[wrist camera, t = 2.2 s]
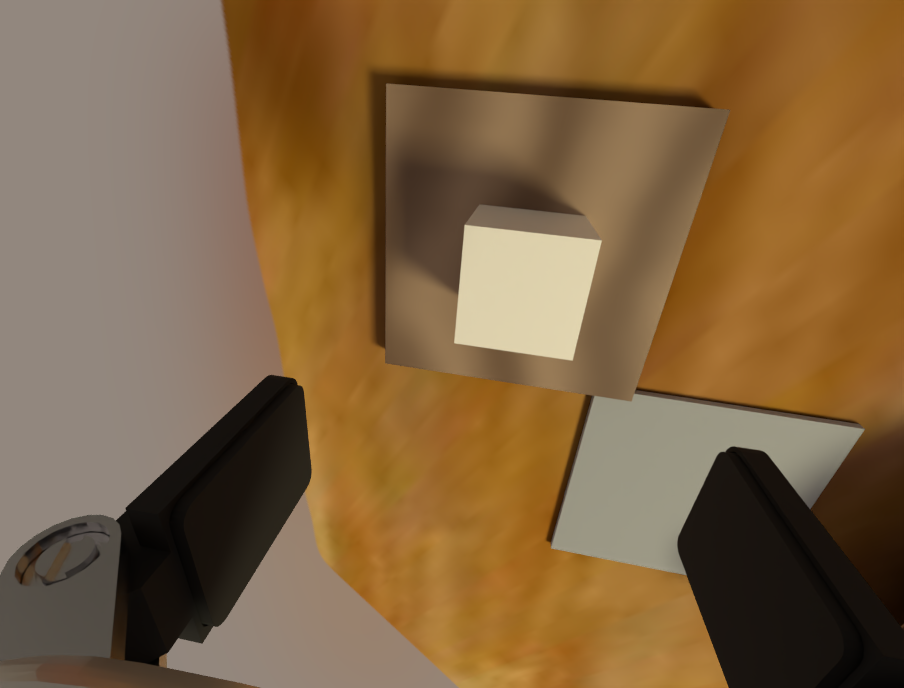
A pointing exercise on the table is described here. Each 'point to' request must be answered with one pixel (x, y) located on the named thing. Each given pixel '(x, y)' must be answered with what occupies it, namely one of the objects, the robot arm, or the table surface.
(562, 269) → the cream cube
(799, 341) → the table surface
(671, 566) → the gray square plate
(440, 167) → the tan square base plate
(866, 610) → the robot arm
